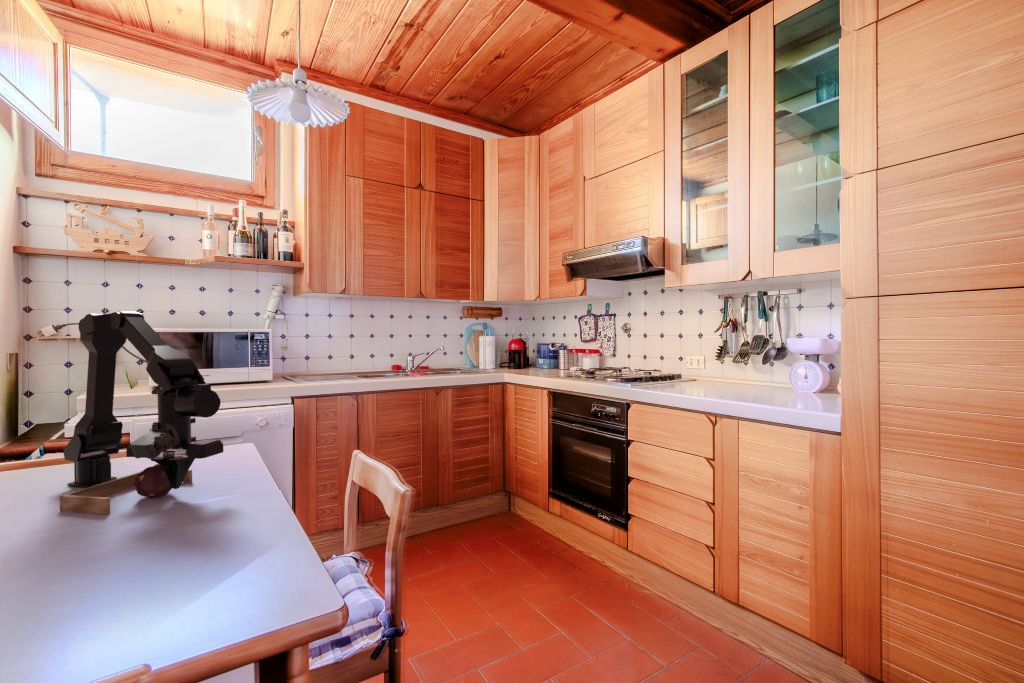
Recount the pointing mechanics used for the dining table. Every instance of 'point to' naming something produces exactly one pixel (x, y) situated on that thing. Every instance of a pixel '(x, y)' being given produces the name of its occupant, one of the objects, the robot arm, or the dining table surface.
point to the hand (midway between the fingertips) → (176, 488)
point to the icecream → (152, 482)
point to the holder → (101, 495)
